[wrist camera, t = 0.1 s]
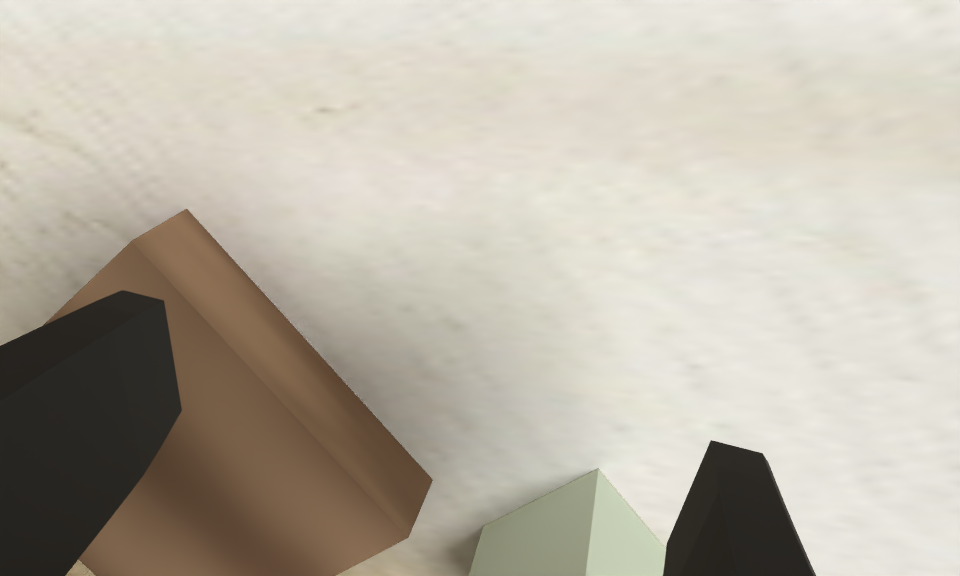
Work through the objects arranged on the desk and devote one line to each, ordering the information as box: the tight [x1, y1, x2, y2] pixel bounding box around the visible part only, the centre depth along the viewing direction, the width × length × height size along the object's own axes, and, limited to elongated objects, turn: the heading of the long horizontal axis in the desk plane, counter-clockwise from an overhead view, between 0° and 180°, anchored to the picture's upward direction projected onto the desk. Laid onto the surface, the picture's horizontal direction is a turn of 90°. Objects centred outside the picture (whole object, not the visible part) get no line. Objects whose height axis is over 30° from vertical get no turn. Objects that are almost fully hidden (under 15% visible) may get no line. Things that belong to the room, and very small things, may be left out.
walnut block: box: [43, 209, 433, 576], centre depth 24 cm, size 11×11×3 cm
